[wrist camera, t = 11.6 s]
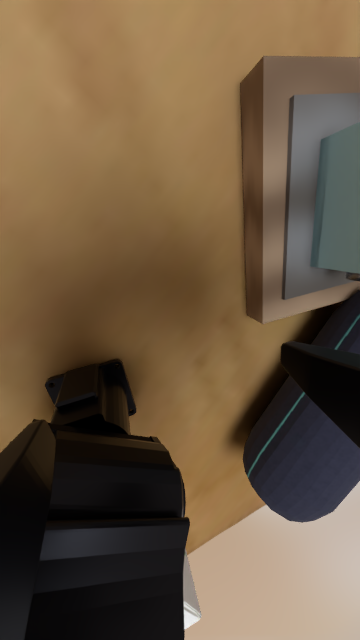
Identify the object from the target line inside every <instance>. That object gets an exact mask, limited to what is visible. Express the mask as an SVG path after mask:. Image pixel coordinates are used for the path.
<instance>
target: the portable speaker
mask: <svg viewBox="0 0 360 640" xmlns="http://www.w3.org/2000/svg"><path fill="white" fill-rule="evenodd" d="M311 345H315V346H320V347H325V348H331V349H336V350H341V351H346V352H351V353H356V354H360V291H358V292H356V293H355V294H353V295H352V296H351V297H350V298H349V299H348V300H345V301H344V302H343V303H342V304H341V305H340V306H339V307H338V308H337V309H336V310H335V311H334V312H333V314H332V315H331V316H330V318H329V319H328V321H327V322H326V323H325V325H324V326H323V328H322V329H321V331H320V332H319V334H318V335H317V336H316V338H315V339H314V341H313V342H312V344H311ZM243 463H244V468H245V472H246V474H247V477H248V479H249V481H250V483H251V485H252V487H253V488H254V490H255V491H256V492H257V494H258V495H259V497H260V498H261V499H262V500H263V501H264V502H265V503H266V504H267V505H268V506H269V508H270V509H271V510H273V511H274V512H276V513H278V514H279V515H281V516H283V517H284V518H286V519H287V520H289V521H295V522H308V521H314V520H316V519H319V518H321V517H323V516H325V515H327V514H328V513H331V512H333V511H334V510H335V509H336V507H337V506H338V505H339V504H340V503H341V502H342V501H343V499H344V498H345V497H346V496H347V495H348V494H349V492H350V491H351V490H352V489H353V488H354V487H355V486H356V484H357V483H358V482H359V481H360V449H359V448H358V447H357V446H356V445H355V444H354V443H353V442H352V441H351V440H350V438H349V437H348V436H347V435H346V434H345V433H344V432H343V431H342V430H341V429H340V428H339V427H338V426H337V425H336V424H335V423H334V422H333V421H332V420H331V419H330V418H329V417H328V416H327V415H326V414H325V413H324V412H323V411H322V410H321V409H320V408H319V407H318V406H317V405H316V404H315V403H314V402H313V401H312V400H311V399H310V398H309V397H308V396H307V395H306V394H305V393H304V392H303V390H302V389H301V388H300V387H299V386H298V384H297V383H296V382H295V381H294V379H293V378H292V377H291V376H290V375H289V377H288V378H287V379H286V381H285V382H284V384H283V385H282V387H281V388H280V390H279V391H278V392H277V394H276V395H275V397H274V398H273V400H272V401H271V402H270V404H269V405H268V407H267V408H266V410H265V411H264V413H263V414H262V415H261V417H260V418H259V420H258V421H257V423H256V424H255V425H254V427H253V428H252V430H251V432H250V435H249V437H248V439H247V441H246V444H245V447H244V454H243Z"/></svg>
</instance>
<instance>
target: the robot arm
mask: <svg viewBox="0 0 360 640" xmlns="http://www.w3.org/2000/svg"><path fill="white" fill-rule="evenodd" d="M280 360H281V364H282V366H283V367H284V369H285V370H286V371H287V372H288V373H289V375H290V376H291V377H292V378H293V379H294V381H295V382H296V383H297V384H298V386H299V387H300V388H301V389H302V390H303V392H304V393H305V394H306V395H307V396H308V397H309V398H310V399H311V400H312V401H313V402H314V403H315V404H316V405H317V406H318V407H319V408H320V409H321V410H322V411H323V412H324V413H325V414H326V415H327V416H328V417H329V418H330V419H331V420H332V421H333V422H334V423H335V424H336V425H337V426H338V427H339V428H340V429H341V430H342V431H343V432H344V433H345V434H346V435H347V436H348V437H349V438H350V440H351V441H352V442H353V443H354V444H355V445H356V446H357V447H358V448H359V449H360V354H356V353H351V352H346V351H341V350H336V349H331V348H325V347H320V346H315V345H310V344H305V343H300V342H294V341H290V342H286V343H283V344H282V346H281V359H280ZM115 364H119V366H114V365H115ZM50 383H54V385H51V384H50ZM45 387H46V389H47V391H48V393H49V395H50V397H51V399H52V401H53V403H54V405H55V410H54V413H53V416H52V420H51V423H47V422H46V421H45V420H36V419H33V421H32V423H30V424H29V425H28V426H27V427H26V428H25V429H24V430H23V431H22V432H21V433H20V434H19V435H18V436H17V437H16V438H15V439H14V440H13V441H11V442H10V444H9V445H8V446H7V447H6V448H5V449H4V450H3V451H2V452H1V453H0V640H184V601H183V569H184V556H185V546H186V541H187V536H188V531H189V526H190V521H189V518H188V517H184V516H185V504H186V501H185V489H184V483H183V479H182V476H181V472H180V470H179V468H178V467H176V465H175V464H174V462H173V461H172V459H171V457H170V454H169V451H168V450H167V449H166V448H165V447H164V445H163V444H161V442H160V441H159V439H158V438H157V437H153V436H150V437H142V436H135V435H131V434H130V424H129V416H131V415H134V414H135V413H136V406H135V403H134V399H133V396H132V393H131V390H130V386H129V383H128V380H127V376H126V373H125V370H124V367H123V363H122V361H121V360H118V359H116V360H112V361H108V362H105V363H101V364H93V365H89V366H86V367H82V368H78V369H75V370H71V371H68V372H66V374H62V375H59V376H55V377H52V378H49V379H48V380H47V381H46V384H45ZM131 409H133V410H132V411H130V410H131Z"/></svg>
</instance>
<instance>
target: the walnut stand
mask: <svg viewBox="0 0 360 640" xmlns="http://www.w3.org/2000/svg"><path fill="white" fill-rule="evenodd" d="M240 84H241V120H242V156H243V192H244V228H245V263H246V299H247V315H248V316H250V317H251V318H253V319H255V320H257V321H258V322H260V323H262V324H264V323H268V322H271V321H275V320H278V319H282V318H285V317H289V316H292V315H296V314H299V313H303V312H306V311H310V310H313V309H317V308H320V307H323V306H327V305H330V304H334V303H337V302H341V301H344V300H348V299H349V298H350V297H351V296H352V295H353V294H355V293H356V292H358V291H360V281H352V280H348V279H346V272H345V271H338V270H331V269H324V268H318V267H311V266H310V262H311V250H312V239H313V227H314V215H315V203H316V192H317V180H318V168H319V156H320V145H321V139H323V138H325V137H328V136H330V135H332V134H334V133H336V132H338V131H341V130H343V129H345V128H347V127H349V126H352V125H354V124H356V123H358V122H360V57H300V56H263V57H262V59H261V60H260V61H259V62H258V63H257V64H256V66H255V67H254V68H253V69H252V70H251V71H250V73H249V74H248V75H247V76H246V77H245V79H244V80H243V81H242V82H241V83H240Z"/></svg>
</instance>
